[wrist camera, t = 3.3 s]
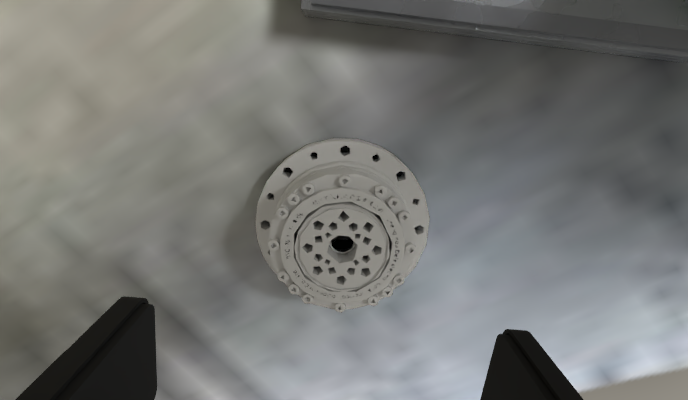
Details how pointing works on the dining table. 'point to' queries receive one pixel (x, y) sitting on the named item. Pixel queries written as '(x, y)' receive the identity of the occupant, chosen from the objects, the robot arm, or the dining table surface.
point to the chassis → (533, 22)
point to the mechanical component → (342, 223)
